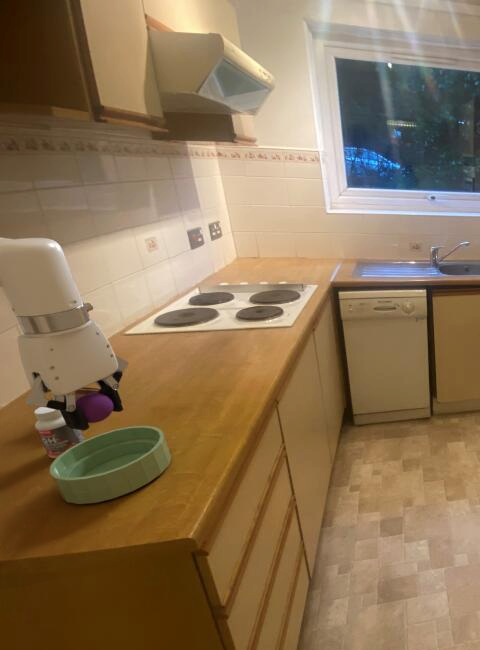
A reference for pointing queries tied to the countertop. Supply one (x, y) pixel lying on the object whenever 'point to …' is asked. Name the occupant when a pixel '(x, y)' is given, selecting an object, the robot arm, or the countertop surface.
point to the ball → (95, 407)
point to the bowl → (110, 464)
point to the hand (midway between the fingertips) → (97, 418)
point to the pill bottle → (55, 432)
